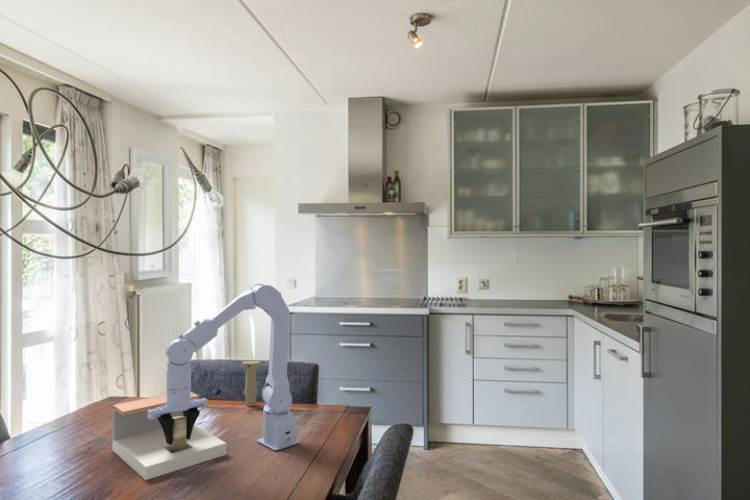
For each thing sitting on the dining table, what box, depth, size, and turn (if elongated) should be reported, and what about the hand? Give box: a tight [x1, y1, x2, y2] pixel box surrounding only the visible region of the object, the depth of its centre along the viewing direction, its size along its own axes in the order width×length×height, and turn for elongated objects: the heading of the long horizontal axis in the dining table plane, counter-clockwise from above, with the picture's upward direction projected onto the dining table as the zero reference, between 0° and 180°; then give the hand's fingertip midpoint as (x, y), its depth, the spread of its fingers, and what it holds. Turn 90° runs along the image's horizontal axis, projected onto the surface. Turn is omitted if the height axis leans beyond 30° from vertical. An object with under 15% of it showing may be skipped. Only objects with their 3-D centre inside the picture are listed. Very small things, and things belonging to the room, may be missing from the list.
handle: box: [240, 360, 262, 407], centre depth 164 cm, size 5×6×15 cm
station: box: [111, 391, 227, 481], centre depth 124 cm, size 24×20×12 cm
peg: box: [170, 416, 187, 453], centre depth 120 cm, size 4×4×8 cm
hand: (178, 440), depth 120 cm, fingers closed on peg, 4 cm apart
